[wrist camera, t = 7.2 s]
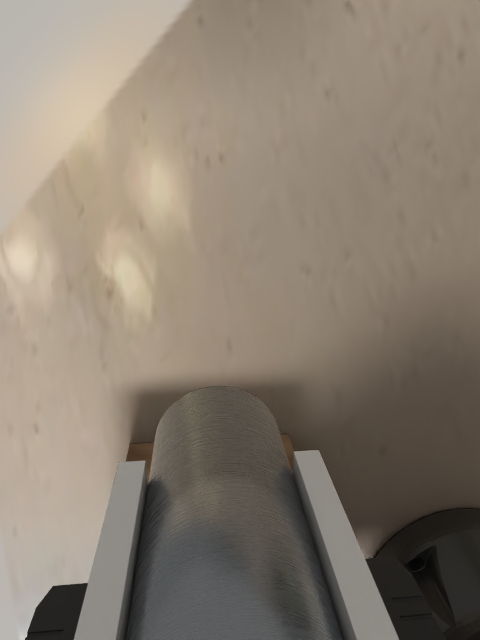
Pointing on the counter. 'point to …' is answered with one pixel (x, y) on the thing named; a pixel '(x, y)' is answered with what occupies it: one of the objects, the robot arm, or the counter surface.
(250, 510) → the peg
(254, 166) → the counter surface
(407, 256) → the counter surface
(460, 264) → the counter surface
